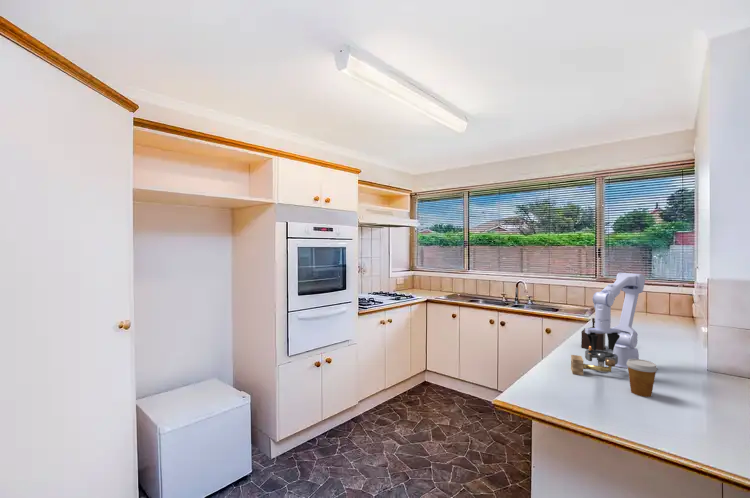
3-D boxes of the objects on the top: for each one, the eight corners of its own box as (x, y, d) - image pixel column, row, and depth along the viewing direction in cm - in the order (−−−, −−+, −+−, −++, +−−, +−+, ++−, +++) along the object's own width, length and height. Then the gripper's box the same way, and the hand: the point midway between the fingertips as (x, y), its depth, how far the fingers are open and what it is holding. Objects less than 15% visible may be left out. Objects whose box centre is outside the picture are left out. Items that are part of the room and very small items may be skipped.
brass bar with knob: (613, 371, 151) (614, 359, 151) (615, 374, 148) (616, 361, 147) (580, 367, 156) (580, 354, 156) (581, 370, 153) (581, 357, 153)
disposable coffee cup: (652, 391, 136) (653, 360, 135) (660, 401, 127) (661, 368, 127) (623, 386, 140) (623, 357, 139) (628, 396, 131) (629, 364, 131)
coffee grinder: (604, 352, 184) (605, 318, 183) (580, 348, 191) (581, 315, 190) (608, 345, 196) (608, 314, 195) (585, 342, 203) (586, 311, 202)
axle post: (607, 368, 159) (607, 359, 159) (610, 373, 154) (610, 363, 154) (592, 366, 162) (592, 357, 161) (594, 371, 156) (594, 361, 156)
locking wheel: (618, 365, 151) (619, 354, 151) (585, 360, 157) (585, 350, 157) (616, 358, 160) (616, 348, 160) (584, 354, 166) (584, 344, 166)
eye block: (581, 370, 157) (581, 355, 157) (583, 375, 151) (583, 360, 151) (570, 368, 159) (571, 354, 159) (572, 374, 153) (572, 359, 152)
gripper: (612, 317, 158) (612, 346, 158) (581, 317, 158) (580, 346, 158) (624, 320, 151) (623, 351, 151) (590, 320, 151) (590, 351, 151)
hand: (602, 349), depth 154 cm, fingers open, 7 cm apart
